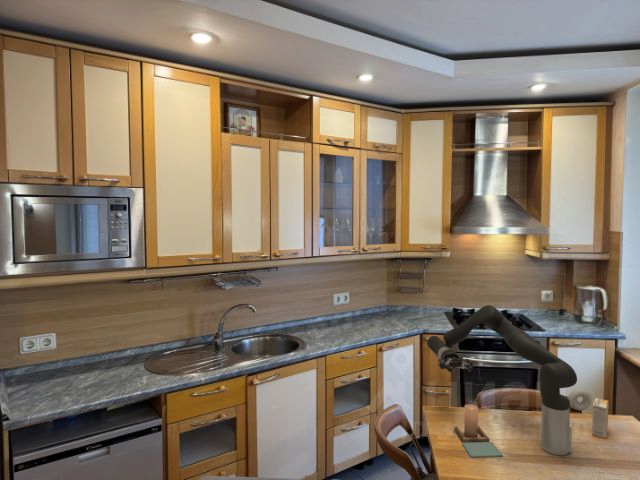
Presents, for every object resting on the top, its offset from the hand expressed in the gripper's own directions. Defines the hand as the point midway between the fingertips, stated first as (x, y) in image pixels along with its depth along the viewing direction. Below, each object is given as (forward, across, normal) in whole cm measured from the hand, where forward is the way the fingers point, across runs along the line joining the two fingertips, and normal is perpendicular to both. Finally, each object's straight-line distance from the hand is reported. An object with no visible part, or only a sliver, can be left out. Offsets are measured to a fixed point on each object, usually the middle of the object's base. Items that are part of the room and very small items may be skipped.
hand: (461, 370), depth 180 cm
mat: (+22, 0, +23) cm, 32 cm away
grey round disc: (-8, +58, +23) cm, 63 cm away
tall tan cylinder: (+11, 0, +23) cm, 26 cm away
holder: (+11, 0, +23) cm, 26 cm away
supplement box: (+12, +53, +23) cm, 59 cm away
